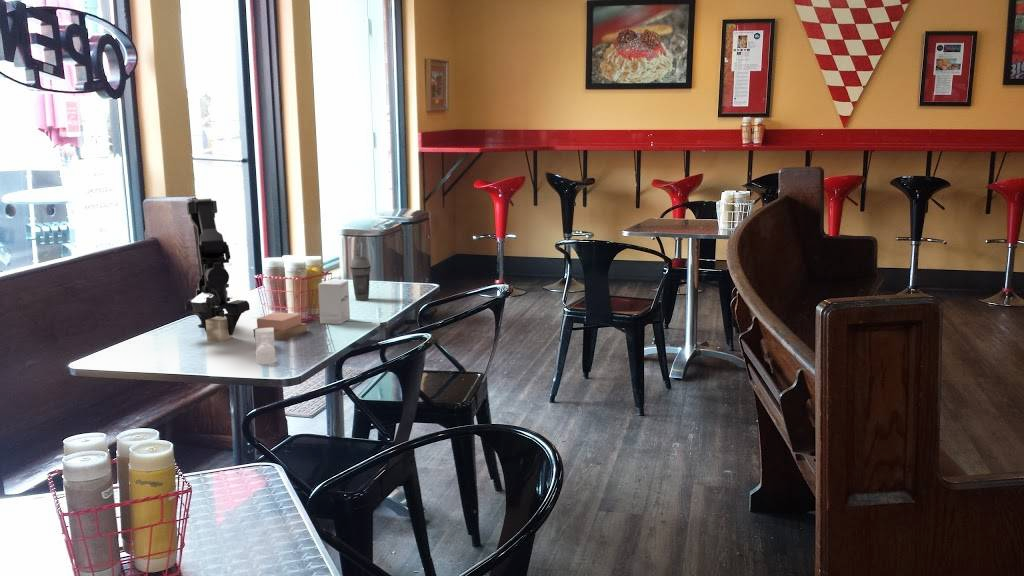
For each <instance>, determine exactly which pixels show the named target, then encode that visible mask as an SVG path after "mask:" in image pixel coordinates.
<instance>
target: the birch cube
mask: <svg viewBox="0 0 1024 576" xmlns="http://www.w3.org/2000/svg"><path fill="white" fill-rule="evenodd" d="M206 331H207V333H206V340H207V341H212V340H213V342H223V340H224V341H226V340H228V339H231V337H232V338H233V334H232V335H229V333H228V324H227V318H226V317H219V316H216V317H213V318H210V319H207V320H206ZM206 331H205V332H206Z"/></svg>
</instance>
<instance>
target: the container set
mask: <svg viewBox="0 0 1024 576" xmlns="http://www.w3.org/2000/svg"><path fill="white" fill-rule="evenodd" d="M256 328H257V327H256ZM254 329H255V328H254ZM254 338H255V364H257V365H270V364H274V363H276V362H277V359H276V347H275V346H276V345H275V344H276V343H275V339H274V329H273V327H271V328H257V329H255V337H254Z"/></svg>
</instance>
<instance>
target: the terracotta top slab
mask: <svg viewBox="0 0 1024 576" xmlns="http://www.w3.org/2000/svg"><path fill="white" fill-rule="evenodd" d="M301 318H302V316H301V313H292V312H280V311H279V312H276V311H274V312H272V313H269V314H265V315H263V316H260V317H257V318H256V326H257V327H256V328H271V327H273V329H274V330H279V331H284V330H287V329H289V328H292V327H294V326H297V325H299V324H301V323H302V319H301Z"/></svg>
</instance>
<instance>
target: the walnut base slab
mask: <svg viewBox="0 0 1024 576" xmlns="http://www.w3.org/2000/svg"><path fill="white" fill-rule="evenodd" d="M255 329H257V327H255V328H254V329H252V330H253V337H254V338H255ZM306 332H308V325H307V323H304V322H301V324H299V325H297V326H294V327H292V328H289V329H287V330H284V331H279V330H274V340H285V341H286V340H288V339H291V338H293V337H297V336H298V335H301V334H303V333H306Z"/></svg>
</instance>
